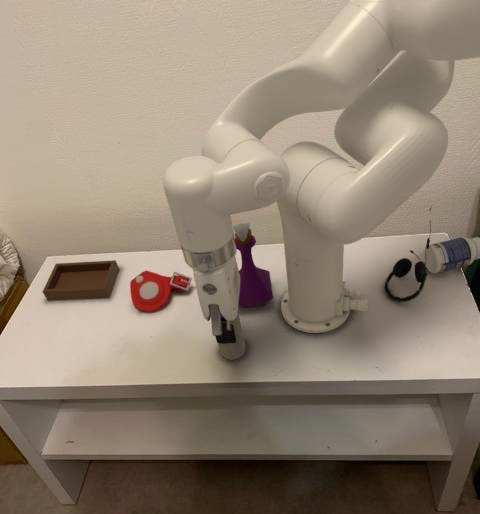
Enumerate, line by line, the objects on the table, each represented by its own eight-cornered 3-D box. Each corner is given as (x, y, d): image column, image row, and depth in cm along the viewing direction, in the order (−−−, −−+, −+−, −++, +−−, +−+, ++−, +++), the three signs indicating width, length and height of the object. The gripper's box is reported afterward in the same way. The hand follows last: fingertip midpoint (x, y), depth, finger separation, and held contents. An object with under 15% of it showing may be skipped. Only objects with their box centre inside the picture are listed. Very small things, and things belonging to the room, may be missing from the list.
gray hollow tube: (229, 336, 87) (219, 297, 79) (250, 344, 85) (243, 305, 77) (215, 354, 85) (204, 316, 77) (237, 363, 83) (228, 324, 75)
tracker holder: (143, 318, 91) (116, 283, 95) (151, 326, 95) (125, 293, 99) (193, 278, 93) (164, 246, 97) (199, 288, 97) (171, 257, 101)
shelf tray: (119, 269, 104) (115, 260, 102) (109, 297, 98) (105, 288, 96) (60, 272, 106) (55, 263, 104) (47, 300, 100) (42, 291, 98)
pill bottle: (439, 272, 86) (491, 260, 87) (433, 243, 86) (484, 231, 87) (426, 275, 92) (474, 263, 92) (420, 247, 92) (468, 236, 92)
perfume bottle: (233, 288, 95) (218, 213, 82) (270, 283, 95) (261, 206, 81) (235, 315, 90) (219, 241, 77) (274, 310, 90) (265, 234, 76)
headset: (455, 191, 83) (403, 291, 80) (465, 215, 88) (416, 309, 86) (418, 187, 87) (368, 281, 85) (430, 210, 93) (383, 299, 90)
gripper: (229, 287, 61) (247, 370, 75) (239, 207, 72) (253, 292, 86) (172, 289, 62) (200, 371, 76) (190, 210, 73) (212, 294, 87)
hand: (228, 328), depth 81 cm, fingers closed on gray hollow tube, 4 cm apart
